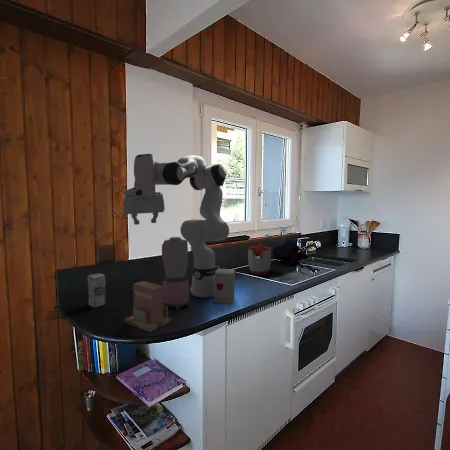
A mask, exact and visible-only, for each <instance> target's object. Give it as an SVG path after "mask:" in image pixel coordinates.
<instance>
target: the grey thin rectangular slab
mask: <svg viewBox="0 0 450 450" xmlns="http://www.w3.org/2000/svg"><path fill="white" fill-rule="evenodd" d="M132 316H133V320H134V321H137V322H139V323H142V324H145V325H146V324H148V318H147V311H145V310H142V309H139V308H136V307H135V308H134V307H133V308H132Z"/></svg>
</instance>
